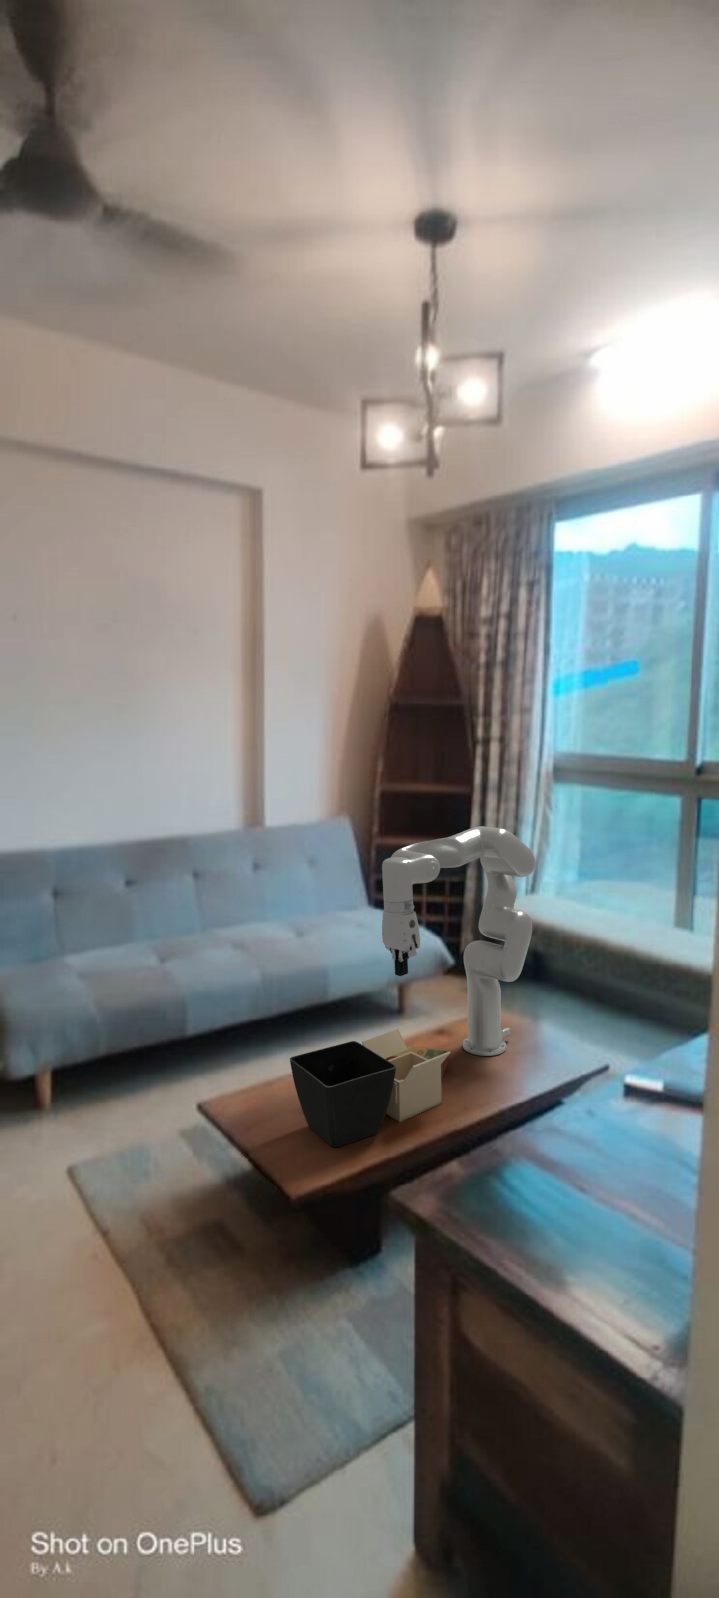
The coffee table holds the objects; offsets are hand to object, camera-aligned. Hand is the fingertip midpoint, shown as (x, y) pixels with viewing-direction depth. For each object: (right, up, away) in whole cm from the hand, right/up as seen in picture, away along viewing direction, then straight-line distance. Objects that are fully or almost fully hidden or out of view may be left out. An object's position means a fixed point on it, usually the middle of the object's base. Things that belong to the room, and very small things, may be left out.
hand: (401, 974), depth 205 cm
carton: (+5, -29, +15) cm, 33 cm away
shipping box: (+1, -31, -7) cm, 32 cm away
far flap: (-4, -18, -2) cm, 19 cm away
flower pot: (-15, -33, -18) cm, 40 cm away
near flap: (+5, -19, -14) cm, 24 cm away
